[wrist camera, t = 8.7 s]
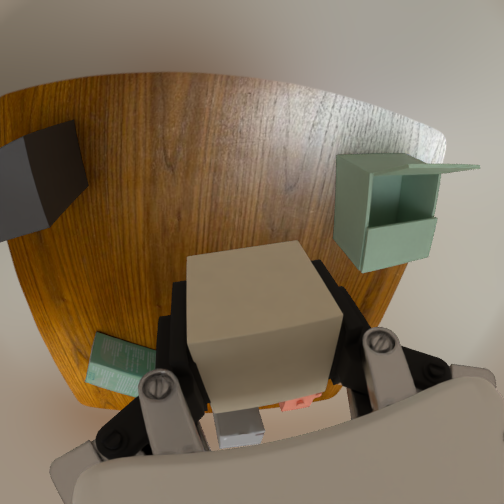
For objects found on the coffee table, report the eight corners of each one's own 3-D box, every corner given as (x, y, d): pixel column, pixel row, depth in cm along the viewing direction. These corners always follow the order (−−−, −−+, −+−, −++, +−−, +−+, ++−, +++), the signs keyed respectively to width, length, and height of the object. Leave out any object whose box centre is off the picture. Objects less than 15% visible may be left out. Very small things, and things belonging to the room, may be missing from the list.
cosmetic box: (208, 386, 57) (216, 450, 43) (208, 367, 53) (217, 438, 40) (246, 383, 59) (260, 446, 45) (250, 365, 55) (266, 433, 42)
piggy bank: (264, 370, 57) (273, 402, 50) (316, 362, 59) (329, 392, 52) (260, 388, 61) (268, 418, 54) (309, 381, 63) (319, 409, 56)
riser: (21, 141, 25) (-34, 167, 15) (73, 119, 26) (23, 136, 16) (37, 201, 30) (-8, 245, 20) (88, 185, 31) (49, 227, 21)
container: (336, 154, 35) (373, 175, 27) (404, 153, 37) (445, 172, 29) (332, 238, 42) (361, 273, 34) (395, 228, 44) (428, 257, 36)
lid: (373, 176, 28) (373, 172, 28) (445, 173, 29) (444, 170, 29) (409, 168, 21) (408, 163, 21) (480, 168, 23) (479, 164, 23)
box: (153, 372, 52) (152, 403, 45) (90, 351, 46) (83, 382, 40) (165, 352, 49) (164, 385, 43) (96, 329, 43) (88, 361, 37)
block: (186, 256, 11) (186, 343, 7) (297, 239, 11) (344, 314, 8) (205, 333, 13) (214, 413, 9) (294, 317, 14) (325, 391, 10)
